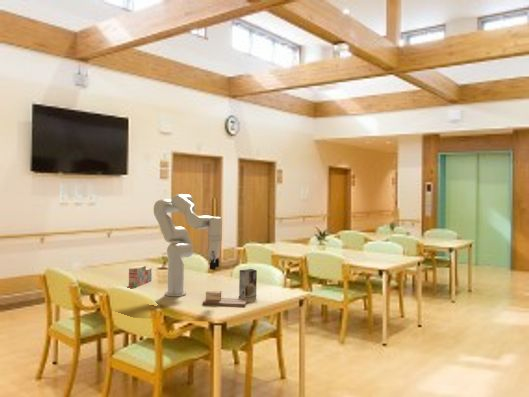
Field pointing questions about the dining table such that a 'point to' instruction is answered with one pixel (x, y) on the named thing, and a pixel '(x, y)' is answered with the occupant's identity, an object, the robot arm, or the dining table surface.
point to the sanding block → (213, 295)
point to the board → (227, 302)
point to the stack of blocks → (139, 276)
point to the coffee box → (247, 283)
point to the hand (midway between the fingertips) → (214, 268)
